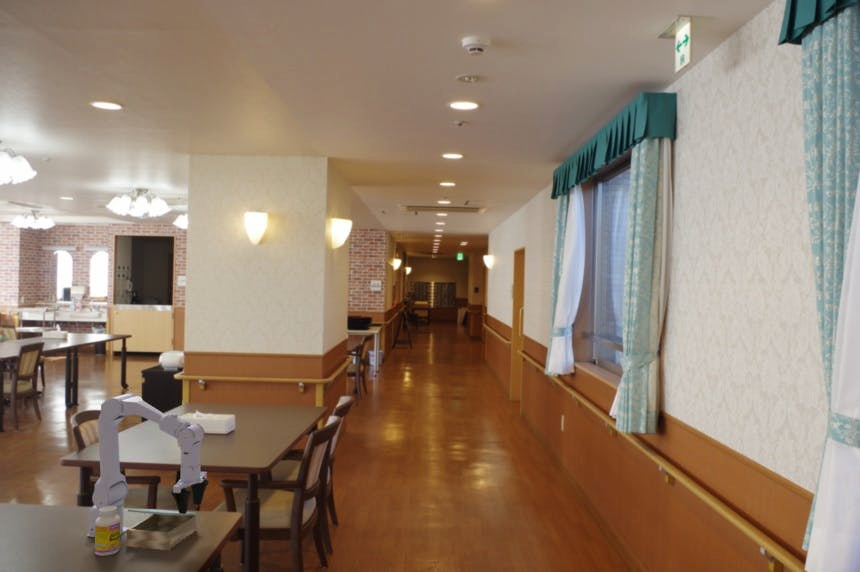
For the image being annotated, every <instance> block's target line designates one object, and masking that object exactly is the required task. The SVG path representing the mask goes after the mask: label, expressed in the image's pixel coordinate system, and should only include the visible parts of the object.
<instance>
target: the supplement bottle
mask: <svg viewBox="0 0 860 572" xmlns="http://www.w3.org/2000/svg"><path fill="white" fill-rule="evenodd" d="M116 512H117V507H116V506H105V507H102V508H100V509H99V515H100V517H98V518H97V519H96V521H95V537H94V553H95V555H97V556H102V557H107V556H111V555H114V554H116V553H118V552H119V551H120V550H121V535H120V517H119V516H118V515H116Z"/></svg>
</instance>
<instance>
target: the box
mask: <svg viewBox="0 0 860 572" xmlns="http://www.w3.org/2000/svg"><path fill="white" fill-rule="evenodd" d="M128 528H129V529H127V531H126V547H129V546H131V547H130V548H139V547H141V549H149V550H150V549H151V550H159V549H160V550H159V551H161V550H162V551H170V550H172V549H173V548H175V547H176V546H177V545H178V543H179V542H180V543H181V542H182V540H183V539H184V540H185V539H187V538H188V537H189V535H190V534H191V535H193V534H194V533H195V532H196V531H197V515H161V514H151V515H150V514H149V516H147V517H146V518H144V519H142V520H140V521H139V522H138V523H135V524H134V525H132V526H131V527H128ZM194 531H195V532H194ZM193 532H194V533H193ZM191 535H190V536H191ZM187 536H188V537H187ZM186 537H187V538H186ZM184 540H183V541H184ZM180 543H179V544H180ZM176 544H177V545H176ZM175 545H176V546H175ZM172 547H173V548H172ZM171 548H172V549H171Z"/></svg>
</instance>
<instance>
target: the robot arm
mask: <svg viewBox="0 0 860 572" xmlns="http://www.w3.org/2000/svg"><path fill="white" fill-rule="evenodd" d="M130 415H131V416H132V415H136V416H139V417H141V418H142V417H143V418H144V419H146V420H148V421H151V422H153V423H155V424H157V425H158V427H159V428H158V429H159V430H160V431H161V432H163V433H165V434H167V435H169V436H171V437H173V438H175V439H176V440H177V443H178V444H179V447H180V448H179V449H180V479H179V480H178V482H177V483H176V484H175V485H173V487H172V490H171V493H170V494H171V495H172V497H173V499H174V500H175V503H176V505H177V508H178V509H177V510H178V512H179V513H182V514H185V513H186V512H188V507H189V506H188V505H189V499H190V495H191V493H192V501H193V502H192V503H193V505H195V506H197V505H198V506H200V505H202V501H203V497H204V494H205V491H206V489H207V487H208V485H209V479H207V477H208V475H207V474H208V473H207V471H201V458H202V455H201V453H202V449H201V448H202V446H201V445H202V441H203V439H204V437H205V429H204V427H203V426H202V425H201V424H199V423H198V422H197V423H196V422H194V423H191V421H188V420H185V419H183V418H180V417H179V416H178V414H177V413H174V412H173V413H172V412H171V413H166V414H165V413H163V412H162V411H160V410H159V409H157V408H156V407H154V406H152V405H151V404H149V403H148V402H146V401H145V400H143V398H142V397H141V396H140V395H137V394H135V393H133V392H127V393H125V394H121V395H117V396H114V397H109V398H106V399H105V400H104V402H102V403H101V404H100V414H99V415H98V419H97V431H98V449H99V468H100V477H99V478H98V479H97V481H96V483H94V490H93V493H92V498H91V499H92V503H93V506H91V509H90V510H89V513H88V534H86V537H92V538H95V521H96V519H97V518H98V517H100V515H99V509H100V508H102V507H105V506H116V507H117V512H116V515H118V516H119V517H120V536H121V535H122V534H124V533H125V532H126V533H127V529H129V528H130V527H127V526H124V502H125V499H126V497H127V496H128V494H129V490H130V489H129V485H128V483H127V481H126V476H125V475H124V474H122V473H121V465H120V445H119V444H120V443H119V427H118V425H119V423H120V422H121V421H122V420H123V419H124V418H125V417H126V416H130ZM189 487H191V491H190V490H189V491H188V490H187V489H186V488H189Z"/></svg>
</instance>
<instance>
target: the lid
mask: <svg viewBox="0 0 860 572" xmlns="http://www.w3.org/2000/svg"><path fill="white" fill-rule="evenodd" d="M129 512H130V513H140V514H149V515H150V514H151V515H152V514H161V515H196V516H198V512H189V511H187V512H186V513H185V514H182V513H179V510H178V511H177V510H165V509H135V508H134V509H128V510H127V513H129Z"/></svg>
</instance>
